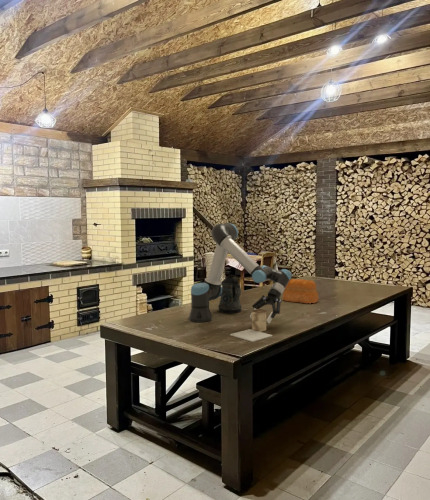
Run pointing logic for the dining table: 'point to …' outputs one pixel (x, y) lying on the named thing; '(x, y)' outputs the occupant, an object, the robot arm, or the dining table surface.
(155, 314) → the dining table surface
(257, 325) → the oak block
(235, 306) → the beer stein
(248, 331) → the felt mat
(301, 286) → the bread
